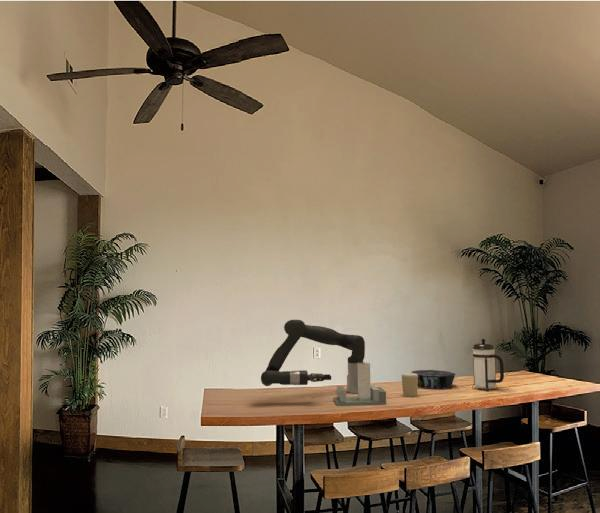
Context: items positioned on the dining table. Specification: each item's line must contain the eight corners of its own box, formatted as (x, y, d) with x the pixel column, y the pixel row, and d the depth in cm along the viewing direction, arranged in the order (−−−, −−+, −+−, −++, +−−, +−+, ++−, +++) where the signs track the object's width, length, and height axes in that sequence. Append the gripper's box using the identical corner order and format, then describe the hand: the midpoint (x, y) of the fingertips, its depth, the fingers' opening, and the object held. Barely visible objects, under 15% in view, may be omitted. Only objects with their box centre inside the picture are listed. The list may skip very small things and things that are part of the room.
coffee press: (473, 391, 304) (471, 339, 307) (470, 386, 320) (469, 337, 322) (504, 392, 300) (502, 340, 302) (500, 387, 316) (499, 337, 318)
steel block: (359, 400, 276) (358, 363, 277) (358, 398, 280) (357, 362, 281) (370, 399, 276) (370, 363, 277) (369, 398, 280) (368, 362, 282)
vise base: (336, 405, 269) (336, 391, 270) (333, 399, 284) (332, 385, 285) (386, 404, 271) (386, 389, 272) (380, 398, 286) (379, 384, 287)
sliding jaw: (340, 401, 271) (340, 390, 271) (337, 397, 284) (336, 386, 284) (346, 401, 271) (345, 390, 271) (342, 396, 284) (342, 386, 284)
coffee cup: (419, 394, 297) (418, 373, 298) (418, 397, 288) (417, 375, 289) (402, 393, 300) (402, 372, 301) (401, 396, 291) (400, 375, 292)
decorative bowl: (426, 394, 308) (426, 377, 308) (402, 383, 334) (403, 367, 334) (463, 391, 316) (463, 374, 316) (437, 380, 342) (437, 365, 342)
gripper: (299, 372, 270) (332, 371, 271) (297, 368, 284) (329, 368, 285) (299, 387, 269) (332, 386, 270) (297, 382, 283) (329, 382, 284)
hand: (330, 377), depth 278 cm, fingers open, 3 cm apart
